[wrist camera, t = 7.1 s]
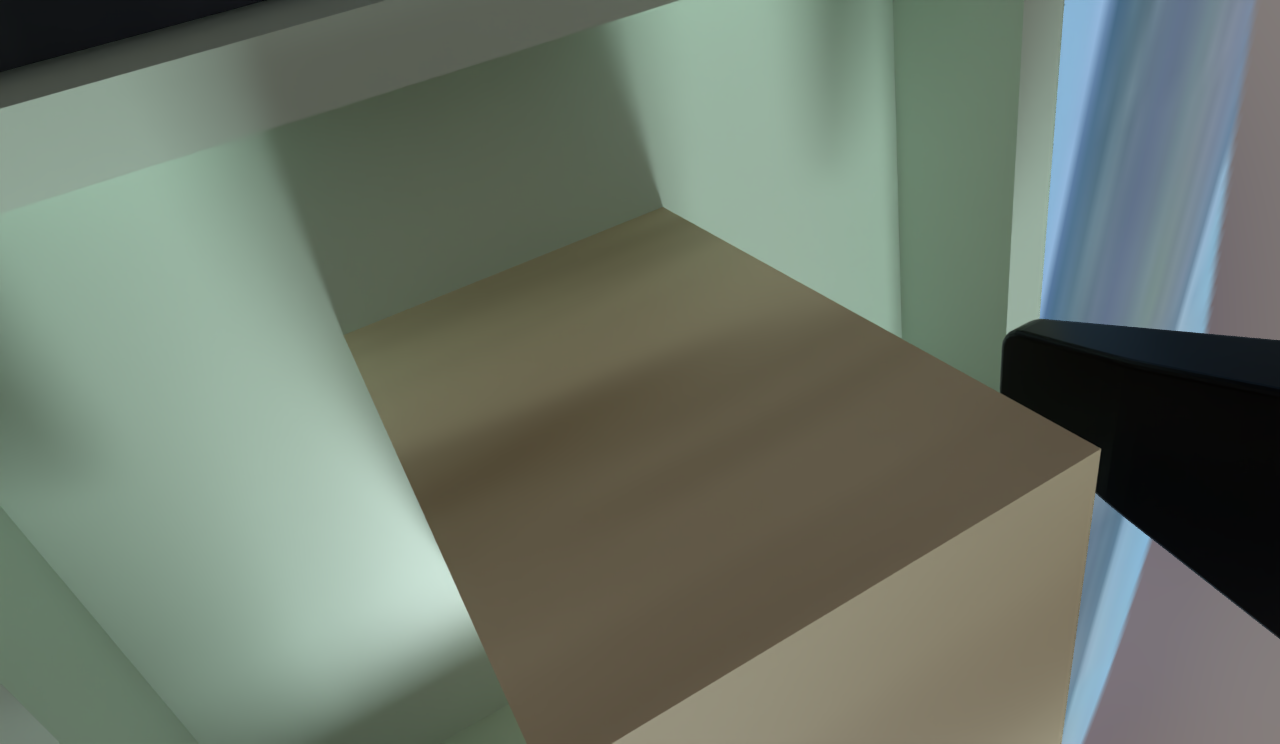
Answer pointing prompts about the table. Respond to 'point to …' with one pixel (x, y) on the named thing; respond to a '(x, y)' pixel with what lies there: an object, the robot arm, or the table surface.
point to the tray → (417, 302)
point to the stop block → (732, 505)
